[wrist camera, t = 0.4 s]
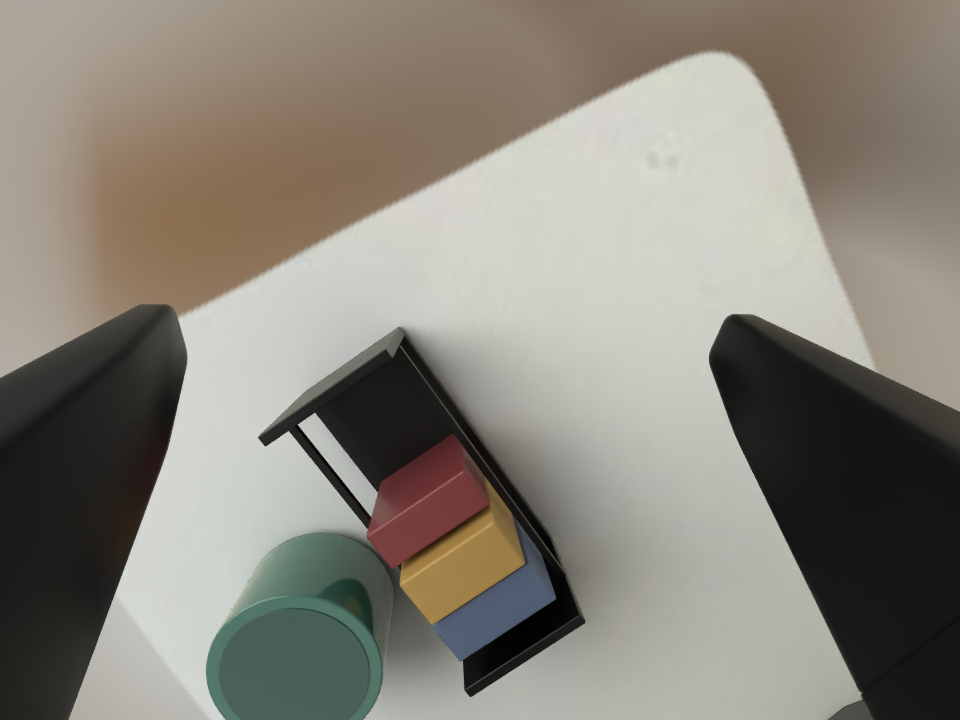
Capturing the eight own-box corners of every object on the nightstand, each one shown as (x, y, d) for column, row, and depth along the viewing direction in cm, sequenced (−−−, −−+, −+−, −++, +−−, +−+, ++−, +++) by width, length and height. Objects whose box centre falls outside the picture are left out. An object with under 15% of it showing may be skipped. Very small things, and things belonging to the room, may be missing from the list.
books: (533, 528, 25) (558, 602, 19) (456, 579, 25) (460, 666, 19) (459, 427, 23) (465, 476, 18) (380, 481, 24) (362, 545, 18)
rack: (553, 537, 25) (587, 622, 19) (462, 597, 25) (469, 698, 20) (400, 325, 23) (386, 347, 17) (303, 393, 23) (255, 438, 17)
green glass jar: (422, 605, 25) (417, 689, 20) (310, 679, 26) (279, 779, 21) (338, 501, 24) (311, 563, 19) (222, 579, 24) (166, 661, 20)
